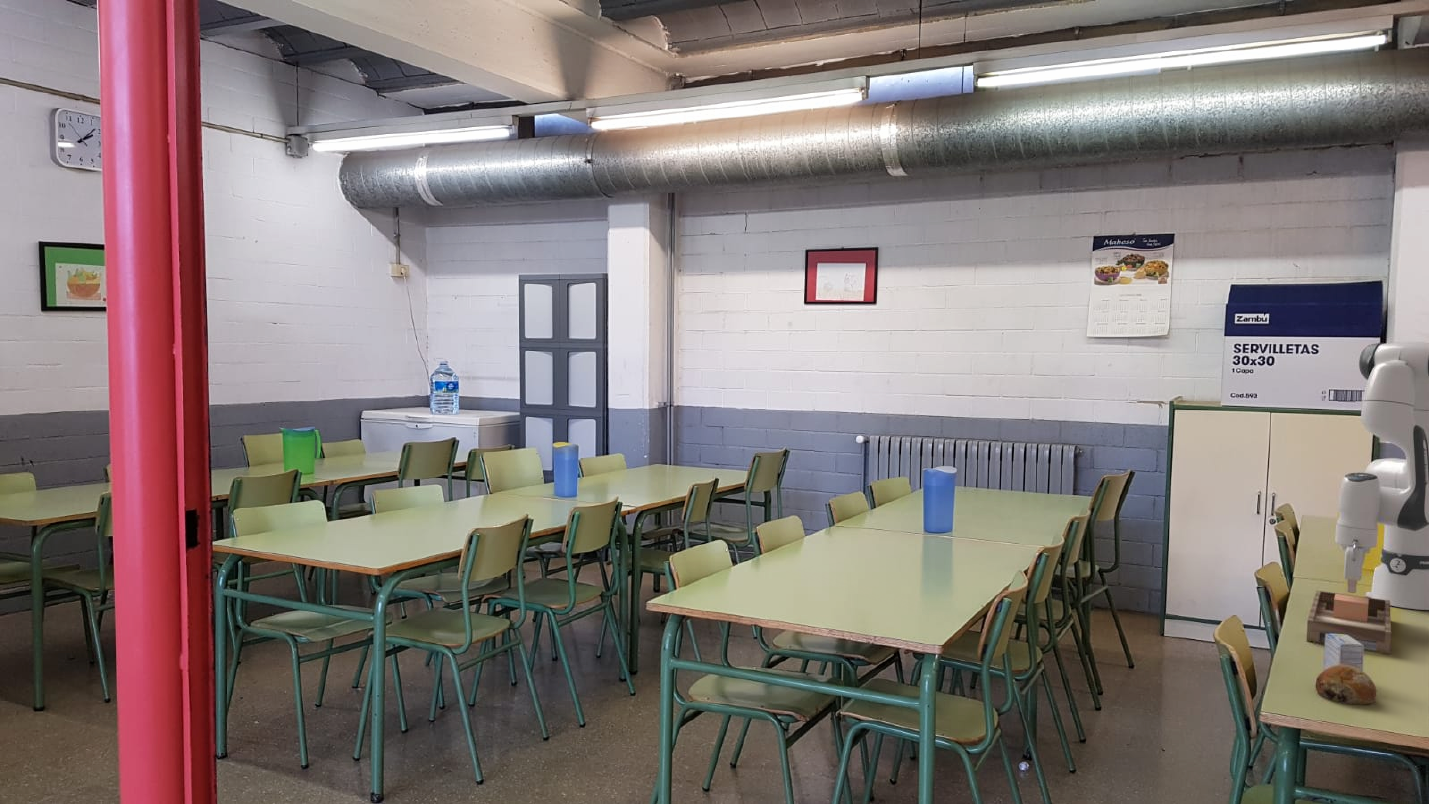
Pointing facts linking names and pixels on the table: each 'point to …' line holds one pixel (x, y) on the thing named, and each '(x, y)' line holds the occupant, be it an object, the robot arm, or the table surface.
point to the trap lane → (1351, 623)
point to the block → (1350, 608)
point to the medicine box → (1342, 651)
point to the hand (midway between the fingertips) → (1351, 591)
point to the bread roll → (1346, 685)
